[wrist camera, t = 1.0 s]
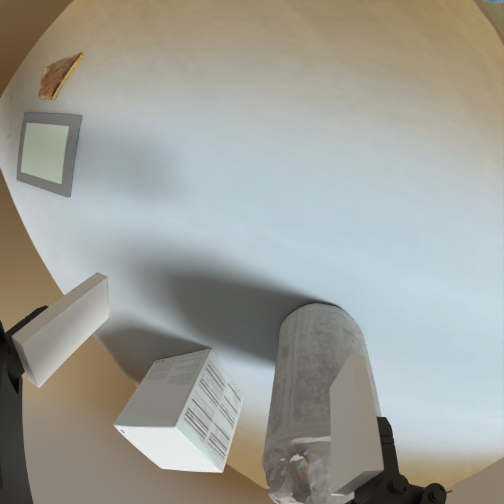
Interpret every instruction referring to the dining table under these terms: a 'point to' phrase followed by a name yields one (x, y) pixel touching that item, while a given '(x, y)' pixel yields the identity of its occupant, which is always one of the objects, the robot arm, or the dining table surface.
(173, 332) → the dining table surface
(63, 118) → the mat
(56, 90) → the shard
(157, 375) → the supplement box
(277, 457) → the grey stoneware bottle
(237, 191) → the dining table surface
